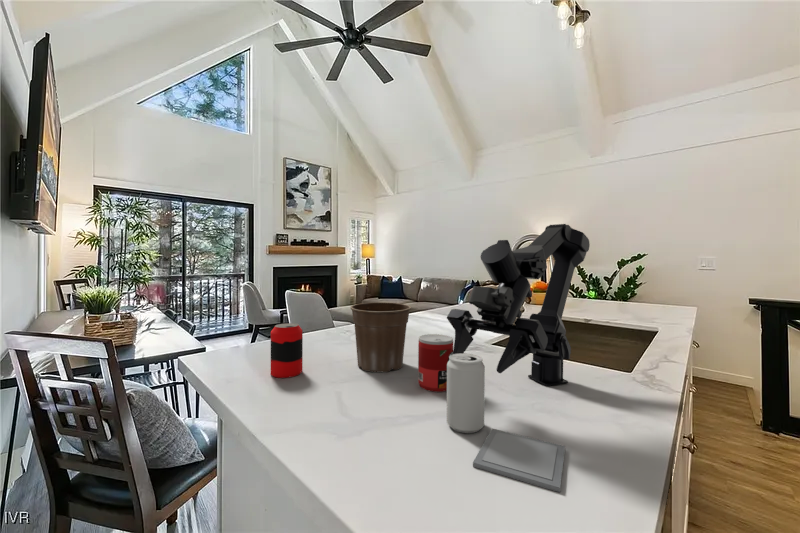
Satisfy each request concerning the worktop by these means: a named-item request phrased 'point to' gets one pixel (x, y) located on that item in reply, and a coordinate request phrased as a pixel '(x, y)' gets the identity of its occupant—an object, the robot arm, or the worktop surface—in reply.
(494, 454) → the coaster
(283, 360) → the soda can
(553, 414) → the worktop surface
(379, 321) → the plant pot
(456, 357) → the beverage can
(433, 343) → the canned food
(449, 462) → the worktop surface
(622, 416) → the worktop surface
